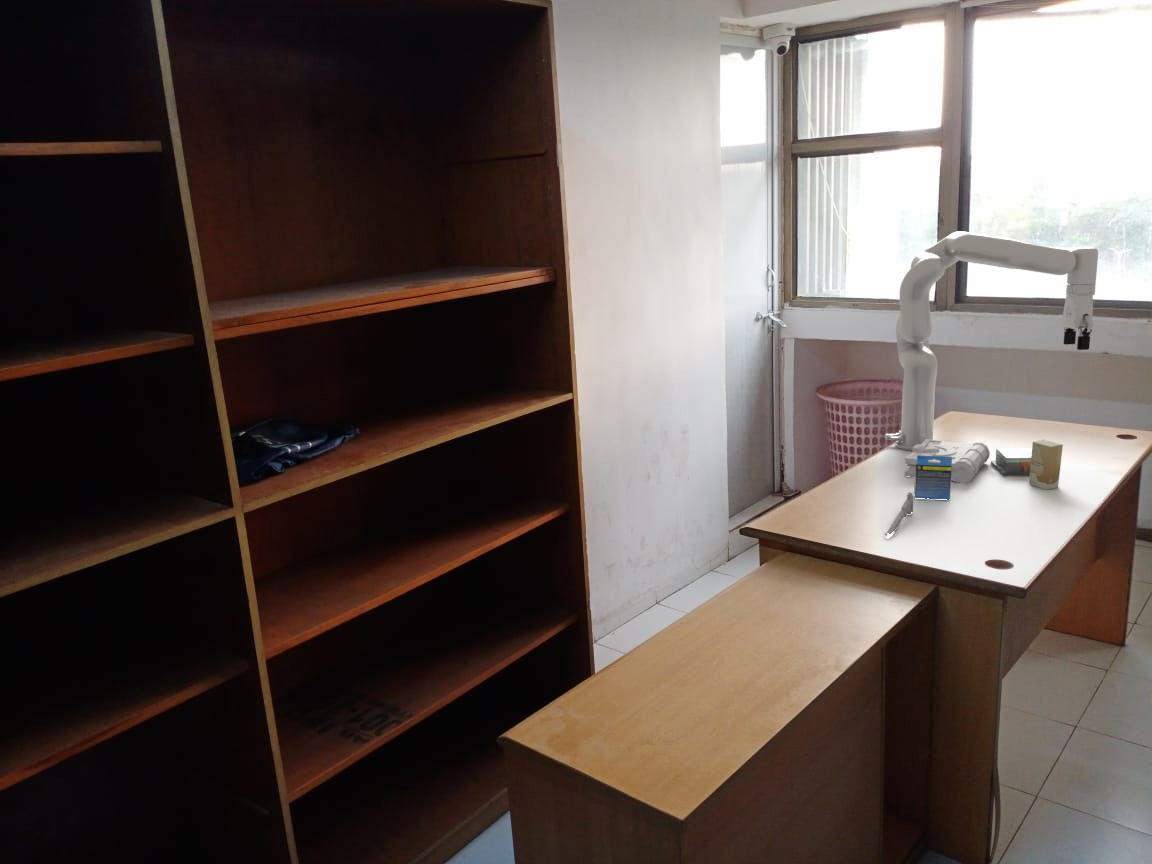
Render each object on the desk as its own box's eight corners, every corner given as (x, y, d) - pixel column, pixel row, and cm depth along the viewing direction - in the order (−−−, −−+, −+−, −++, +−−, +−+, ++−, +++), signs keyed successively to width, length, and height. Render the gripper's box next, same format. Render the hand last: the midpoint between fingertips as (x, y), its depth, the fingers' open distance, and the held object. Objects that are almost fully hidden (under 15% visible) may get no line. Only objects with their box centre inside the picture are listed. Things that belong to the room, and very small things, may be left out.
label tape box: (949, 496, 247) (951, 452, 243) (950, 501, 243) (952, 456, 240) (914, 495, 249) (915, 451, 246) (914, 500, 245) (916, 455, 242)
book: (993, 460, 277) (994, 435, 275) (972, 486, 255) (973, 459, 253) (926, 454, 288) (926, 430, 286) (900, 478, 265) (900, 453, 264)
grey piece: (1002, 476, 261) (1003, 459, 259) (990, 463, 272) (991, 447, 271) (1048, 475, 259) (1049, 458, 257) (1034, 463, 270) (1035, 447, 269)
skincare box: (1027, 484, 253) (1031, 441, 250) (1039, 481, 254) (1042, 438, 251) (1048, 490, 247) (1051, 446, 244) (1059, 487, 249) (1063, 443, 246)
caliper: (908, 514, 236) (909, 490, 235) (913, 514, 236) (914, 491, 234) (884, 540, 220) (885, 515, 219) (889, 540, 220) (889, 515, 218)
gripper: (1055, 287, 283) (1051, 342, 287) (1079, 293, 266) (1074, 352, 270) (1081, 286, 282) (1077, 341, 286) (1107, 292, 265) (1102, 351, 269)
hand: (1076, 346), depth 278 cm, fingers open, 9 cm apart
